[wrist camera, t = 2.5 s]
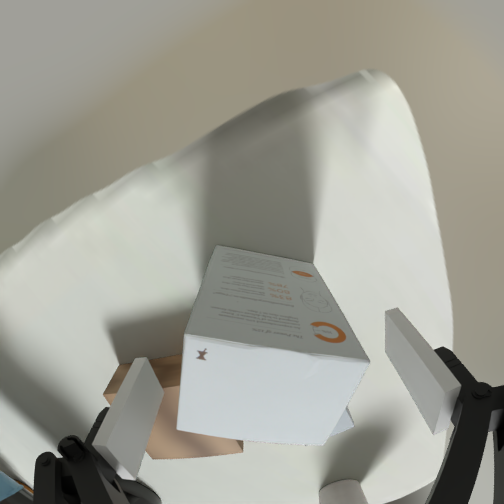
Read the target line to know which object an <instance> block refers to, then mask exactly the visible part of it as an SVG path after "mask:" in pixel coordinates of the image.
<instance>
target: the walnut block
mask: <svg viewBox="0 0 504 504" xmlns="http://www.w3.org/2000/svg"><path fill="white" fill-rule="evenodd" d="M149 363H150V365H151V367H152V369H153V371H154V373H155V375H156V377H157V379H158V381H159V383H160V385H161V387H162V389H163V391H164V395H163V398H162V401H161V404H160V407H159V410H158V413H157V416H156V419H155V422H154V425H153V428H152V431H151V434H150V437H149V440H148V443H147V447H146V450H145V451H146V452H147V453H148V454H149V456H150V457H151V458H152V459H180V458H196V457H208V456H218V455H227V454H234V453H242V452H243V440H235V439H228V438H221V437H215V436H208V435H202V434H197V433H192V432H186V431H181V430H177V429H176V428H177V416H178V402H179V389H180V377H181V365H182V354H180V355H174V356H169V357H164V358H158V359H152V360H149ZM131 365H132V363H128V364H122V365H119V366H118V368H117V370H116V372H115V374H114V375H113V377H112V379H111V381H110V382H109V384H108V386H107V388H106V390H105V391H104V393H103V395H104V397H105V398H106V400H107V401H108V403H109V404H110V406H111V404H112V402H113V400H114V398H115V396H116V394H117V392H118V390H119V388H120V386H121V384H122V382H123V381H124V379H125V377H126V375H127V373H128V371H129V369H130V367H131Z"/></svg>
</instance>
